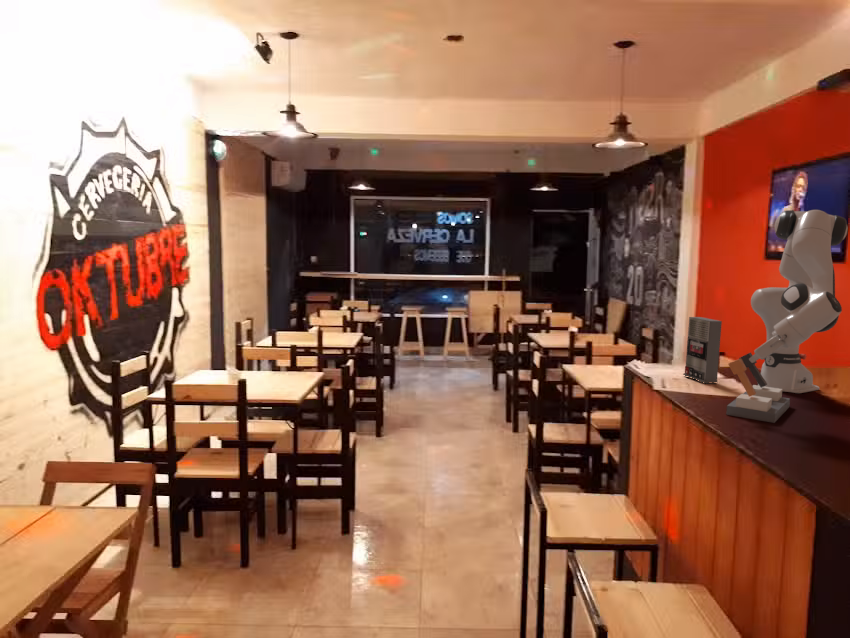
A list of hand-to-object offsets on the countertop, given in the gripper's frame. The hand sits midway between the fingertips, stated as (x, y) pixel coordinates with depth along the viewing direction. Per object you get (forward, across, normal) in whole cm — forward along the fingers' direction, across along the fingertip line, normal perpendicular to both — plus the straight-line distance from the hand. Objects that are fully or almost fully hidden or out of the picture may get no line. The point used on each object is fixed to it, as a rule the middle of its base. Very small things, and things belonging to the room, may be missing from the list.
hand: (751, 360), depth 206 cm
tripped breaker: (+7, 0, -10) cm, 12 cm away
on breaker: (+7, +18, -9) cm, 22 cm away
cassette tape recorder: (+32, +47, +5) cm, 57 cm away
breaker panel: (+11, +9, -14) cm, 20 cm away
